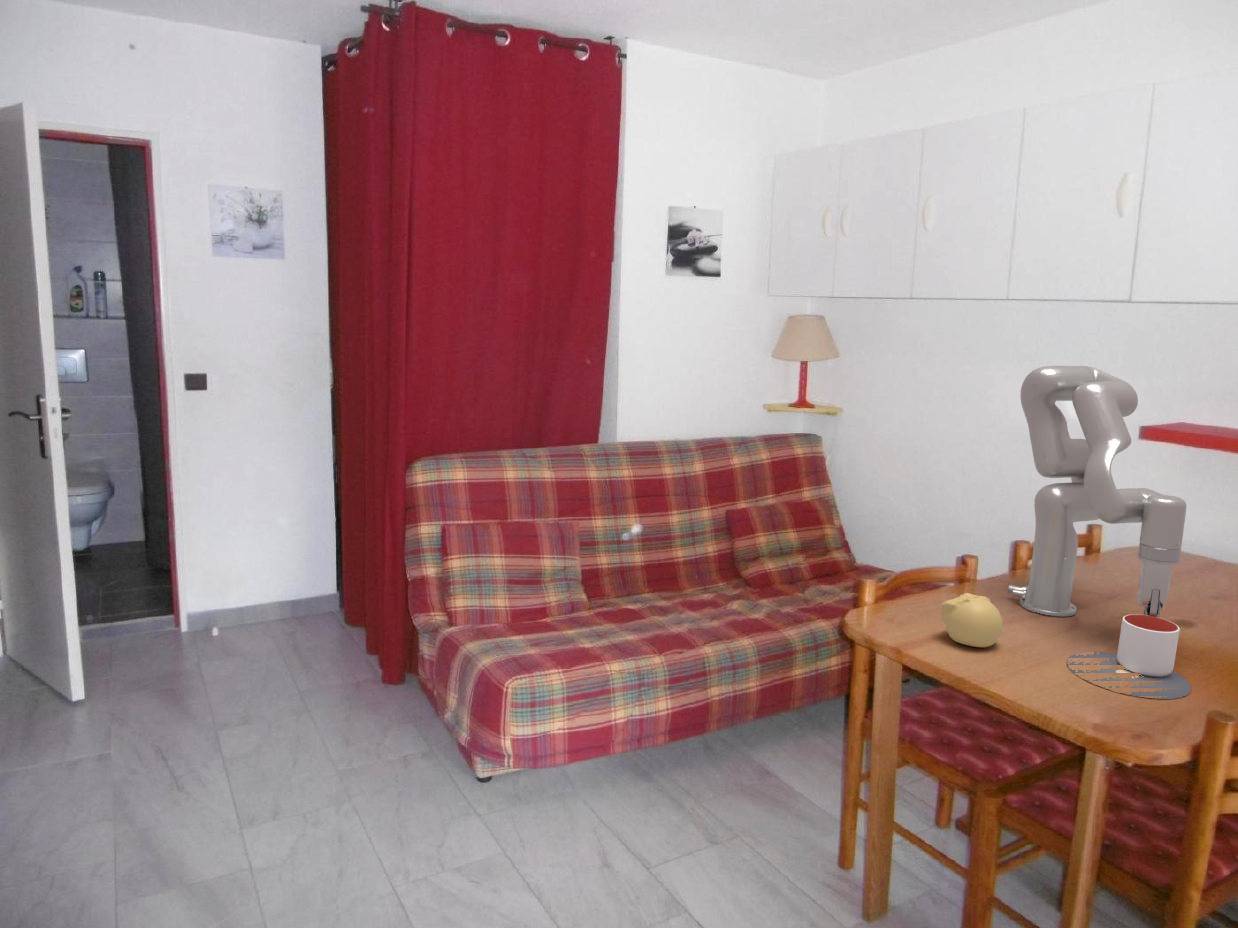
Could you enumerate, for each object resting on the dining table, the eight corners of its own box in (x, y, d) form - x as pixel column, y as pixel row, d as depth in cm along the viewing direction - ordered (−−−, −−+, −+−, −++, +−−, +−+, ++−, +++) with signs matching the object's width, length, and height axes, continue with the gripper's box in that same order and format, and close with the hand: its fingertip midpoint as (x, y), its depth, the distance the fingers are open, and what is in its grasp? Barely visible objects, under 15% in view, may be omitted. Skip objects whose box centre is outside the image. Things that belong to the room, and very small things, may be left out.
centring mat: (1063, 680, 168) (1063, 680, 168) (1069, 644, 187) (1069, 643, 187) (1195, 710, 157) (1195, 709, 157) (1187, 668, 176) (1188, 667, 176)
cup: (1120, 654, 182) (1127, 610, 180) (1175, 667, 176) (1182, 622, 174) (1111, 668, 174) (1118, 623, 172) (1168, 683, 168) (1176, 636, 166)
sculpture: (970, 628, 195) (975, 584, 193) (1011, 649, 184) (1017, 602, 182) (930, 634, 191) (935, 589, 188) (970, 655, 180) (975, 607, 178)
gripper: (1137, 543, 188) (1128, 622, 191) (1139, 558, 175) (1128, 642, 178) (1178, 548, 184) (1168, 628, 187) (1182, 564, 171) (1171, 650, 174)
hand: (1149, 635), depth 182 cm, fingers closed
